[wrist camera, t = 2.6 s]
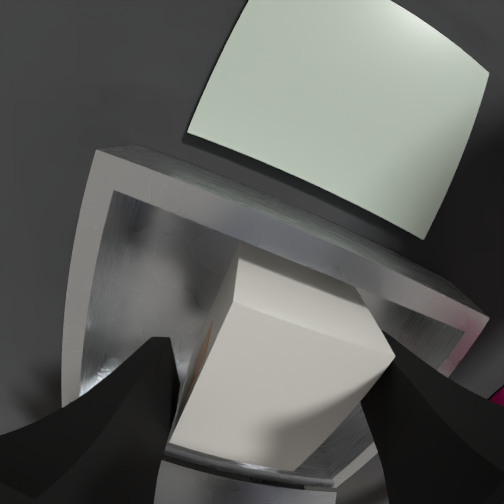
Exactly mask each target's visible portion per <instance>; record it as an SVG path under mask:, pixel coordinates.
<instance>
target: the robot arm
mask: <svg viewBox="0 0 504 504" xmlns="http://www.w3.org/2000/svg"><path fill="white" fill-rule="evenodd" d="M381 331H382V333H383V335H384V337H385V338H386V340H387V342H388V344H389V345H390V347H391V349H392V351H393V353H394V354H395V358H394V359H393V361H392V362H391V363H390V365H389V366H388V367H387V369H386V370H385V371H384V372H383V374H382V375H381V376H380V378H379V379H378V380H377V381H376V383H375V384H374V385H373V386H372V388H371V389H370V390H369V391H368V393H367V394H366V395H365V396H364V397H363V399H362V400H361V401H360V403H361V407H362V409H363V412H364V415H365V418H366V421H367V423H368V426H369V429H370V432H371V434H372V437H373V440H374V443H375V446H376V448H377V451H378V454H379V457H380V460H381V464H382V467H383V471H384V476H385V481H386V486H387V492H388V498H389V504H504V406H501V405H499V404H496V403H494V402H492V401H489V400H487V399H485V398H483V397H481V396H479V395H477V394H475V393H473V392H471V391H469V390H467V389H466V388H464V387H462V386H460V385H459V384H457V383H455V382H454V381H452V380H451V379H449V378H447V377H446V376H444V375H443V374H441V373H440V372H438V371H437V370H435V369H434V368H433V367H431V366H430V365H428V364H427V363H426V362H424V361H423V360H422V359H420V358H419V357H418V356H416V355H415V354H414V353H412V352H411V351H410V350H408V349H407V348H406V347H405V346H403V345H402V344H401V343H399V342H398V341H397V340H396V339H394V338H393V337H392V336H390V335H389V334H387V333H386V332H384V331H383V330H381ZM179 390H180V381H179V377H178V372H177V367H176V363H175V358H174V353H173V348H172V343H171V338H170V337H153V336H152V337H151V338H150V339H148V340H147V341H146V342H145V343H144V344H143V345H142V346H141V347H139V348H138V349H137V350H136V351H135V352H134V353H133V354H132V355H131V356H130V357H128V358H127V359H126V360H125V361H124V362H123V363H122V364H121V365H119V366H118V367H117V368H116V369H115V370H114V371H113V372H111V373H110V374H109V375H108V376H106V377H105V378H104V379H103V380H101V381H100V382H99V383H97V384H96V385H95V386H94V387H92V388H91V389H90V390H89V391H87V392H86V393H84V394H83V395H82V396H80V397H79V398H77V399H76V400H74V401H72V402H71V403H69V404H68V405H66V406H65V407H63V408H61V409H59V410H58V411H56V412H54V413H52V414H50V415H48V416H46V417H44V418H42V419H40V420H38V421H36V422H34V423H32V424H30V425H27V426H25V427H23V428H20V429H18V430H15V431H12V432H9V433H6V434H3V435H0V504H154V497H155V490H156V483H157V477H158V473H159V468H160V464H161V461H162V457H163V454H164V451H165V447H166V444H167V441H168V437H169V434H170V431H171V427H172V424H173V420H174V417H175V413H176V409H177V403H178V397H179Z"/></svg>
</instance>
